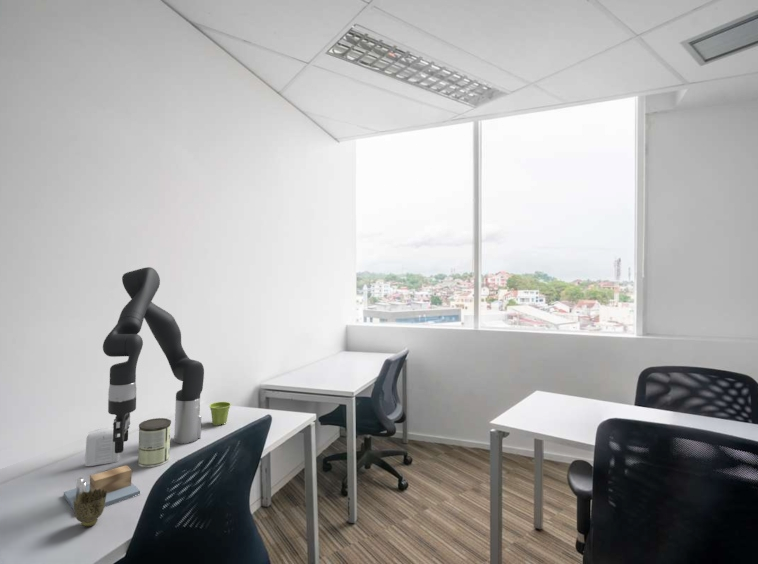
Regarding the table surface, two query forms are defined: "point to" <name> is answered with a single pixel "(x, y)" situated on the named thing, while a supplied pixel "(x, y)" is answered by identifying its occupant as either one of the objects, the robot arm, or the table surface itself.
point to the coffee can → (154, 442)
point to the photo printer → (100, 447)
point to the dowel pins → (80, 486)
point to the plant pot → (219, 412)
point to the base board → (110, 497)
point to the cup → (89, 506)
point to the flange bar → (111, 479)
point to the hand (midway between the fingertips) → (121, 446)
